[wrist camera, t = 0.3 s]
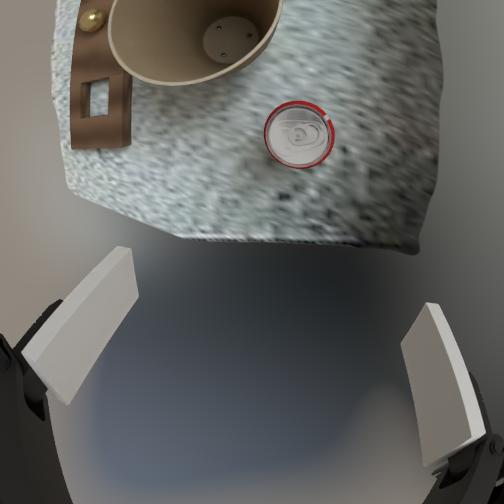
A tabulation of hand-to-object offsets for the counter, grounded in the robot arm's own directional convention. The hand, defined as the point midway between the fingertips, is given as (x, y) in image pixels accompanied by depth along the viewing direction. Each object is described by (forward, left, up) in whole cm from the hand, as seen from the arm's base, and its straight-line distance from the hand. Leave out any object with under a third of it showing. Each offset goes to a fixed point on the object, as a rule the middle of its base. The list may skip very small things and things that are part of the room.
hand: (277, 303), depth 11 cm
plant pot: (-16, -10, -28) cm, 33 cm away
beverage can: (-5, 0, -28) cm, 28 cm away
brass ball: (-22, -30, -23) cm, 43 cm away
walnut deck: (-17, -30, -28) cm, 44 cm away
